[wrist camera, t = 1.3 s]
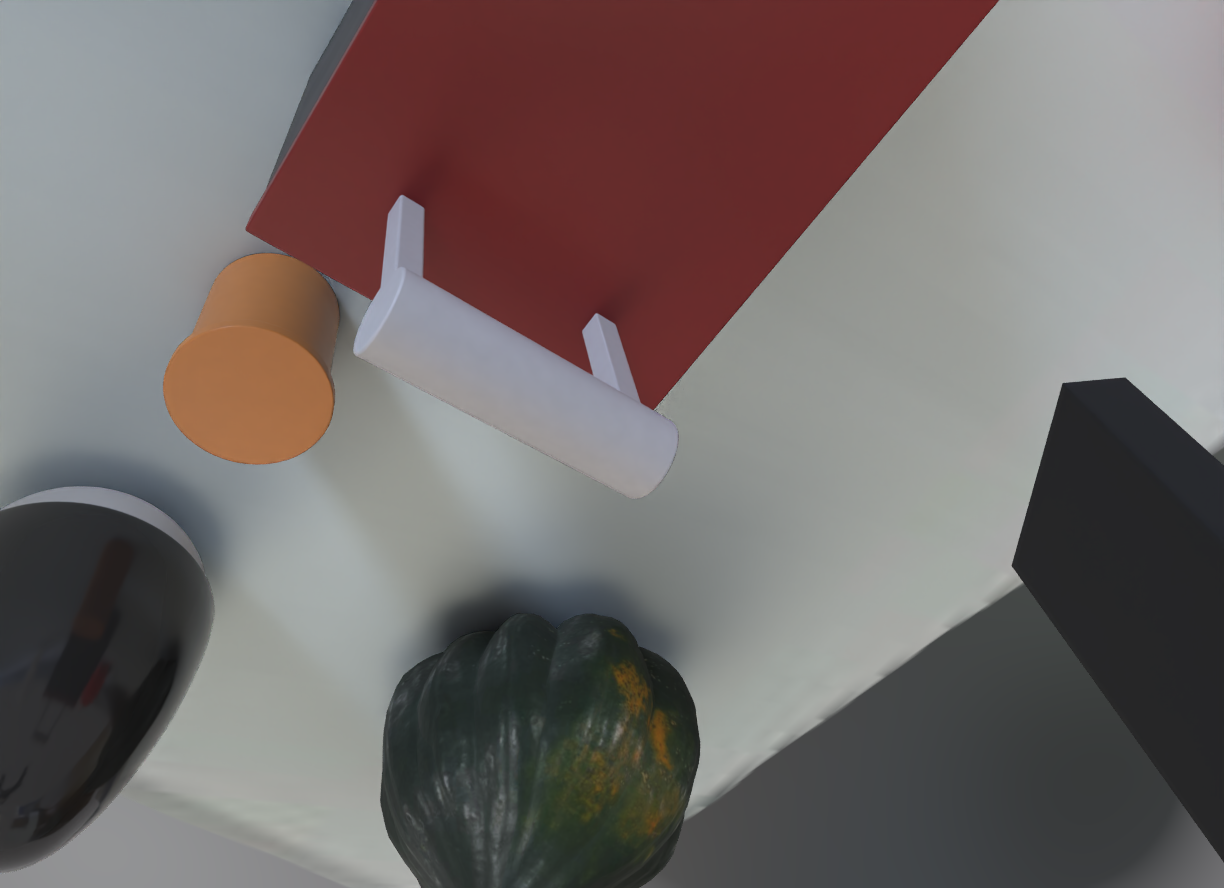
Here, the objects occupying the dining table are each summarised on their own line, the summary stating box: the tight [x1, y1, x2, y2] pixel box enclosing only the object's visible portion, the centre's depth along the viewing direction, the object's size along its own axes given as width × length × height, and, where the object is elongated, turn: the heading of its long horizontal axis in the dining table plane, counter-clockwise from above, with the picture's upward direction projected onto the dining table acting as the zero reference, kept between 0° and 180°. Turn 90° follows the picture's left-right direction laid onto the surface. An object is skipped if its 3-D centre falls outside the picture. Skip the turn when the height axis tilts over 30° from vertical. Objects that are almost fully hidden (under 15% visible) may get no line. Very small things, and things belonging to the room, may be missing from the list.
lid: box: [246, 0, 999, 499], centre depth 21 cm, size 18×12×8 cm
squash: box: [380, 613, 700, 888], centre depth 47 cm, size 14×15×15 cm
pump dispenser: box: [0, 486, 214, 874], centre depth 37 cm, size 10×10×15 cm
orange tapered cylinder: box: [163, 253, 340, 464], centre depth 36 cm, size 5×5×6 cm
